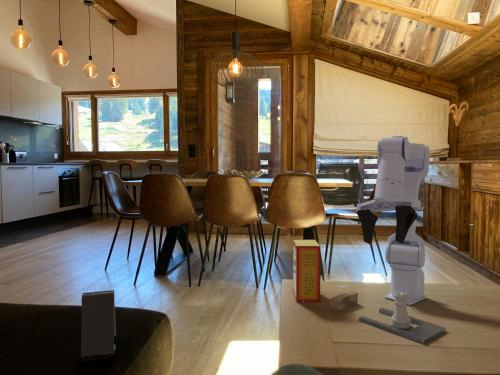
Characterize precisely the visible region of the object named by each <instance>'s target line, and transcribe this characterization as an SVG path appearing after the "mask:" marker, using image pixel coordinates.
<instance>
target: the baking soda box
mask: <svg viewBox="0 0 500 375" xmlns="http://www.w3.org/2000/svg"><path fill="white" fill-rule="evenodd" d="M292 292H294V293H293V296H294V295H295V296H294V298H296V299H295V302H296V303H321V245H320V243H318V241H317V240H315V239H292ZM303 301H304V302H303Z"/></svg>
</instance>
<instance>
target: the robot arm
mask: <svg viewBox="0 0 500 375" xmlns="http://www.w3.org/2000/svg"><path fill="white" fill-rule="evenodd" d="M408 137H409V136H403V135H393V136H391V137H382V138H381V140H378V141H377V147H376V151H377V152H376V153H377V159H376V165H377V173H376V182H375V183H376V184H375V191H374V197H373V199H370V200H368V201H366V202H362V203H357V204H356V214H357V216H358V220H359V222H360V226H361V230H362V238H363V243H366V244H369V245H371V244H372V243H373V238H374V230H375V227H376V225H377V224H376V223H377V221H378V219H379V216H378V215H376V214H374V213H380V212H381V213H382V212H383V213H385V212H394V211H395V216H396V217H395V220H396V223H395V225H396V226H395V233H393V234H391V235H389V236H388V238H387V242H386V245H385V251H384V257H385V259H384V260H385V262H386V263H387V265H389V268H390V270H391V271H390V293H388V294H386V295H384V298H385V299H389V300H392V301H394V302H395V301H396V298H395V297H394V294H395V292H396V291H398V290H400V292H402V291H405V292H407V295H408V296H409V298H408V299H407V303H408V304H407V305H410V306H411V305H412V306H413V305H414V304H417V303H418V302H421V301H423V300H426V299H428V296H427V295H425V273H424V270H423V269H422V268H424V266H425V262H426V242H425V241H424V239H423V238H422V237H421V236H420V235H419V234H417V233H416V228H417V226H416V225H417V219H418V216H419V215H418V211H420V210H421V209H422V208H421V207H422V201H421V200H419V191H420V185H421V181H422V180H423V179H425V178H427V177H428V174H429V172H430V171H429V170H430V161H431V160H430V159H431V158H430V156H431V155H430V148H429V146H428V145H426V144H424V143H415V142H410V141H409V138H408Z"/></svg>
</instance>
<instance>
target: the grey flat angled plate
mask: <svg viewBox="0 0 500 375" xmlns="http://www.w3.org/2000/svg"><path fill="white" fill-rule="evenodd" d="M394 312H395V310H394V311H393V310H390V309H387V308H385V307H380V308H379V309H378V313H381V314H384V315H387V316H389V317H392V316H393V314H394ZM408 316H409V318H410V320H411V322H410V324H411V323H412V324H415V325H417V326H416V327H414V328H412V329H409V331H407V330H405V329H398V328H396V327H393V326H392V325H390V324H387V323H384V322H381V321H379V320H376V319H373V318H369V317H367V316H364V315H360V316H359V317H358V321H359V322H362V323H365V324H367V325H370V326H373V327H375V328H378V329H381V330H384V331H386V332H389V333H393V334H395V335H398V336H401V337H402V338H406V339H408V340H411V341H415V342H416V343H420V344H422V345H426V344H427V343H429V342H430V341H432V340H435V339H436V338H437V337H439V336H440V335H443V334H444V333H446V332H447V327H446V326H445V327H444V326H443V325H442V326H441V325H438V324H435V323H432V322H429V321H425V320H423V319H420V318H416V317H413V316H410V315H408Z"/></svg>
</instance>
